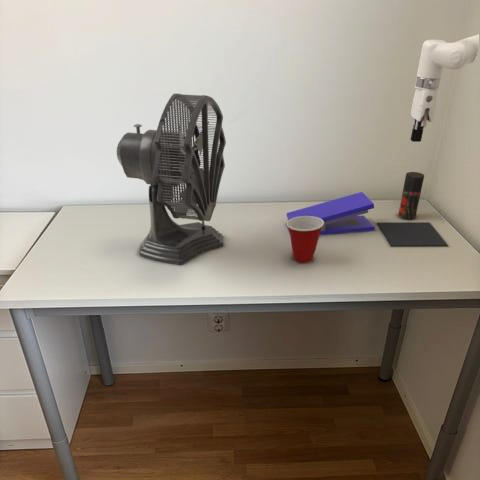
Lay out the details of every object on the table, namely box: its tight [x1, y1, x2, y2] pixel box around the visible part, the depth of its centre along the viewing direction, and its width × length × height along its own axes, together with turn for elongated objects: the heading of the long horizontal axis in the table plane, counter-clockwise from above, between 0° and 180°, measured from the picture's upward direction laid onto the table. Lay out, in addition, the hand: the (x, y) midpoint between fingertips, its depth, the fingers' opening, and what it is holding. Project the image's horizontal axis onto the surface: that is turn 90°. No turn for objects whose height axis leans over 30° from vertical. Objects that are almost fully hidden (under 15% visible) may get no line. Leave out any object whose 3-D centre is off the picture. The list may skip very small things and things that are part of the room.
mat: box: [376, 221, 449, 248], centre depth 169 cm, size 18×18×1 cm
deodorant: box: [397, 171, 425, 221], centre depth 177 cm, size 6×6×15 cm
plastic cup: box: [286, 216, 324, 264], centre depth 151 cm, size 11×11×12 cm
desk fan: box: [116, 93, 227, 266], centre depth 145 cm, size 34×33×45 cm
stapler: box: [286, 191, 376, 236], centre depth 171 cm, size 12×28×10 cm, turn 101°
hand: (415, 140), depth 177 cm, fingers closed
